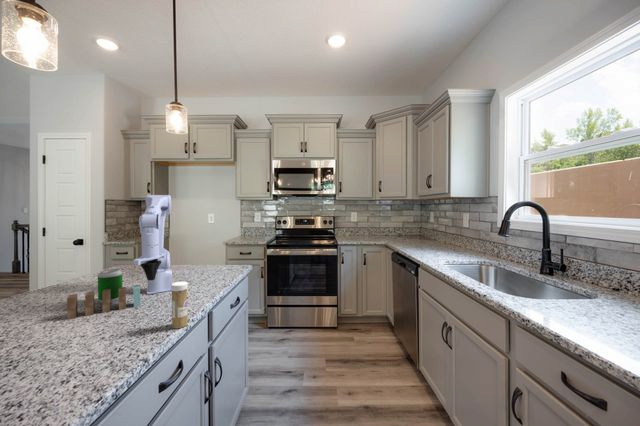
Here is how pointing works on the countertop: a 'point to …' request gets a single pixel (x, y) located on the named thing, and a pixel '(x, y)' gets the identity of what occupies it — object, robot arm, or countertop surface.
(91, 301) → the domino
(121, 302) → the domino
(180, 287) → the sprinkles bottle
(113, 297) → the soda can
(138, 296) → the loose domino
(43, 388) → the countertop surface
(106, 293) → the domino
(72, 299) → the domino
